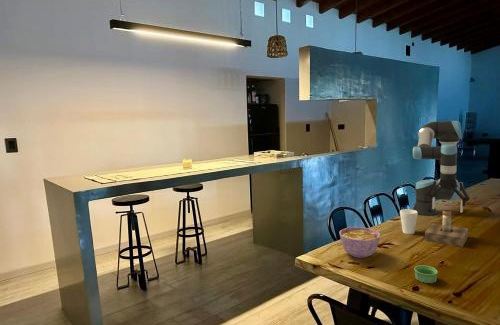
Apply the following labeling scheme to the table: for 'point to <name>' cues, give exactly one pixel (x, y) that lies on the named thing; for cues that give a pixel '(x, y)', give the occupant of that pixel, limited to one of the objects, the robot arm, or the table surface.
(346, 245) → the bowl of food
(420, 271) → the ramekin
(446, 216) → the dowel
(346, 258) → the table surface
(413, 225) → the foam cup
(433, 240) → the square peg hole block
